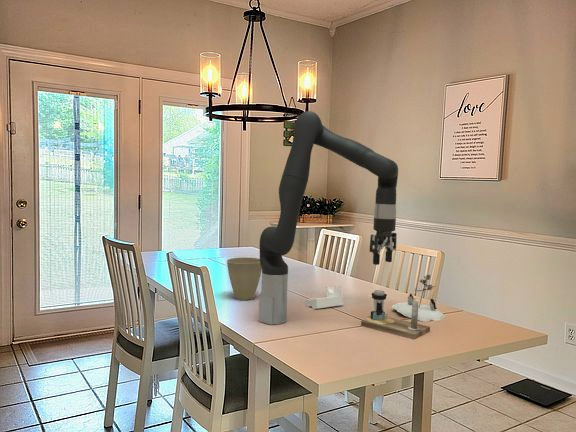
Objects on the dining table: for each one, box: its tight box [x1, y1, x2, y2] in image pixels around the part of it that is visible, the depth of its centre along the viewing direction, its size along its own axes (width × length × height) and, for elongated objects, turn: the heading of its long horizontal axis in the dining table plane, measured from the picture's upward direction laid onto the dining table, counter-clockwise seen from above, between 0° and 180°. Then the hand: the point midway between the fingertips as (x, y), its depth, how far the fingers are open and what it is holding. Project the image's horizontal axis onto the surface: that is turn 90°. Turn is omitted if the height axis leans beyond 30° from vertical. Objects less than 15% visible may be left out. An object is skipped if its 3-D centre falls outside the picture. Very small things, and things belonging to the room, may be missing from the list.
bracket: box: [305, 285, 344, 310], centre depth 200 cm, size 13×7×8 cm, turn 122°
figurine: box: [391, 273, 446, 323], centre depth 191 cm, size 20×18×16 cm
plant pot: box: [226, 256, 262, 301], centre depth 208 cm, size 15×15×16 cm
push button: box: [370, 289, 389, 320], centre depth 178 cm, size 7×5×10 cm
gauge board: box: [360, 301, 431, 340], centre depth 173 cm, size 12×21×10 cm, turn 50°
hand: (382, 263), depth 175 cm, fingers open, 8 cm apart
